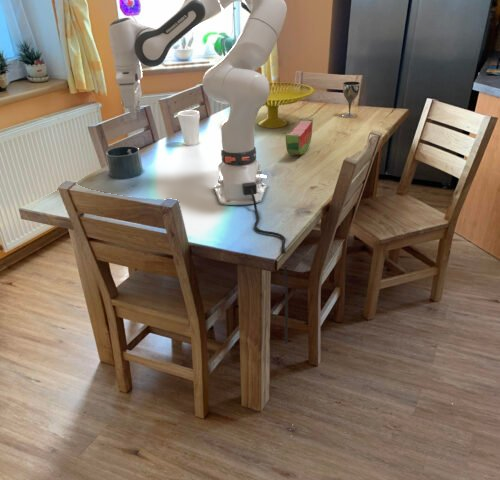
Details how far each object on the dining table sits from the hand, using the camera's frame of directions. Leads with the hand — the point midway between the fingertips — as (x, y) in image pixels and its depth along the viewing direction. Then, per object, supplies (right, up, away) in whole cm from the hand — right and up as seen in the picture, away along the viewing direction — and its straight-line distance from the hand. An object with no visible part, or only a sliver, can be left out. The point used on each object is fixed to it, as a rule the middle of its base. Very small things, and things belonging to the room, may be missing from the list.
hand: (136, 115), depth 186 cm
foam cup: (+15, +7, +46) cm, 49 cm away
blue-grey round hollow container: (-8, -15, +17) cm, 24 cm away
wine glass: (+91, +31, +74) cm, 122 cm away
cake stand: (+52, +24, +67) cm, 89 cm away
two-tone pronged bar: (-6, -12, +14) cm, 19 cm away
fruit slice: (+62, -2, +31) cm, 69 cm away
